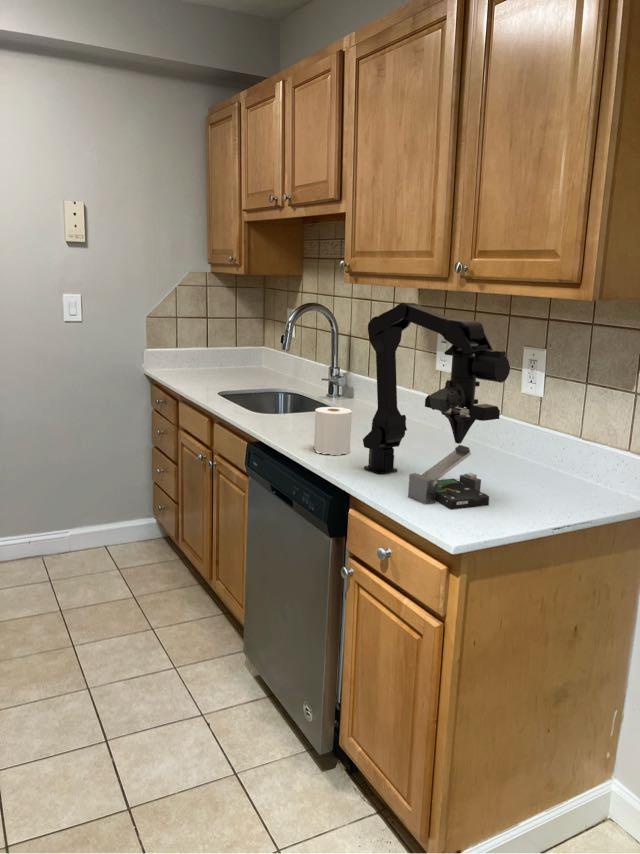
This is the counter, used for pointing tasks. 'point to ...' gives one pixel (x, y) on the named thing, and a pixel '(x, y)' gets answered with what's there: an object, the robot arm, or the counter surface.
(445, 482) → the disk drive
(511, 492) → the counter surface
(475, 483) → the lug
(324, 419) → the toilet paper
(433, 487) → the hinge bracket
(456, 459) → the grey long flat bar
